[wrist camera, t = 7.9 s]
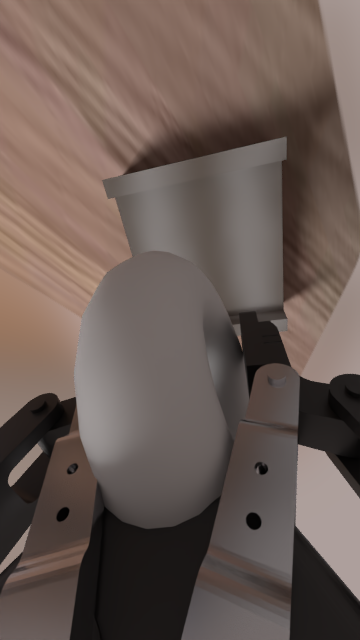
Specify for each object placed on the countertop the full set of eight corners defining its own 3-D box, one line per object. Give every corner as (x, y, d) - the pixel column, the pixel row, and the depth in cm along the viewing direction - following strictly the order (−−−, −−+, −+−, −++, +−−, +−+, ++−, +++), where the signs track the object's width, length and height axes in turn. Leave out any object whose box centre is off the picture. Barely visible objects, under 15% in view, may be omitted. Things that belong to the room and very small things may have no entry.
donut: (120, 240, 12) (-86, 428, 4) (189, 207, 11) (119, 363, 3) (203, 390, 17) (195, 635, 8) (259, 376, 16) (315, 640, 7)
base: (161, 319, 29) (153, 344, 25) (121, 175, 22) (102, 180, 18) (277, 305, 27) (287, 330, 23) (273, 139, 20) (286, 136, 16)
